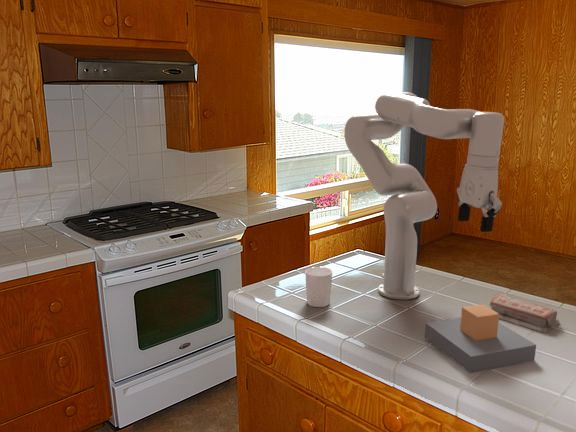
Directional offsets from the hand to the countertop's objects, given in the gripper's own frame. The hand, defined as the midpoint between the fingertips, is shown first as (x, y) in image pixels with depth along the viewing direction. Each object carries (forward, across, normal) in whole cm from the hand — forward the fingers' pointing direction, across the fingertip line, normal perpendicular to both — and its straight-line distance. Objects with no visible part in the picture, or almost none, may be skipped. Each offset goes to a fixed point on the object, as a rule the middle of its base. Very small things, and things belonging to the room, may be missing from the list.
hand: (474, 225), depth 134 cm
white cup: (+29, -21, -35) cm, 50 cm away
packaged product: (+27, +3, +16) cm, 32 cm away
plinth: (+26, +16, -6) cm, 31 cm away
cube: (+22, +16, -7) cm, 28 cm away
